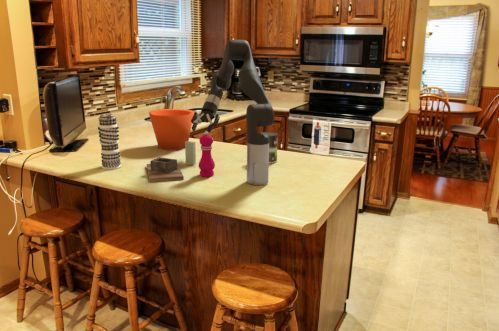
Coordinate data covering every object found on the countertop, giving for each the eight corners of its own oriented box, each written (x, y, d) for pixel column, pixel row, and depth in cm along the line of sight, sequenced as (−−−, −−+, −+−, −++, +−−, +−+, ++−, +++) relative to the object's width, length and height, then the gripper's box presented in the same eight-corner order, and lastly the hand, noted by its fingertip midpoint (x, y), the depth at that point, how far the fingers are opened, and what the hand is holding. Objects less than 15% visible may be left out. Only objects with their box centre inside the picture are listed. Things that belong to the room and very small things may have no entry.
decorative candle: (113, 170, 193) (109, 116, 187) (97, 168, 197) (92, 115, 190) (125, 165, 202) (122, 113, 195) (109, 163, 205) (105, 112, 198)
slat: (195, 164, 206) (195, 142, 203) (193, 165, 204) (193, 142, 201) (187, 162, 208) (187, 141, 205) (185, 163, 206) (185, 141, 203)
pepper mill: (200, 172, 192) (199, 129, 187) (215, 172, 192) (215, 129, 186) (197, 177, 185) (196, 132, 180) (214, 177, 185) (213, 133, 180)
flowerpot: (176, 154, 223) (174, 117, 218) (141, 148, 235) (138, 113, 230) (203, 145, 244) (203, 111, 239) (170, 140, 256) (169, 107, 251)
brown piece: (176, 164, 204) (176, 152, 202) (183, 179, 182) (183, 166, 180) (146, 166, 200) (146, 154, 198) (150, 182, 178) (149, 168, 176)
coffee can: (278, 159, 217) (279, 132, 213) (275, 164, 207) (276, 136, 203) (258, 157, 219) (259, 131, 215) (254, 163, 209) (255, 135, 205)
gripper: (196, 100, 217) (185, 125, 210) (221, 101, 212) (210, 128, 205) (201, 109, 223) (191, 134, 216) (225, 110, 218) (215, 136, 211)
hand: (200, 131), depth 211 cm, fingers open, 8 cm apart
